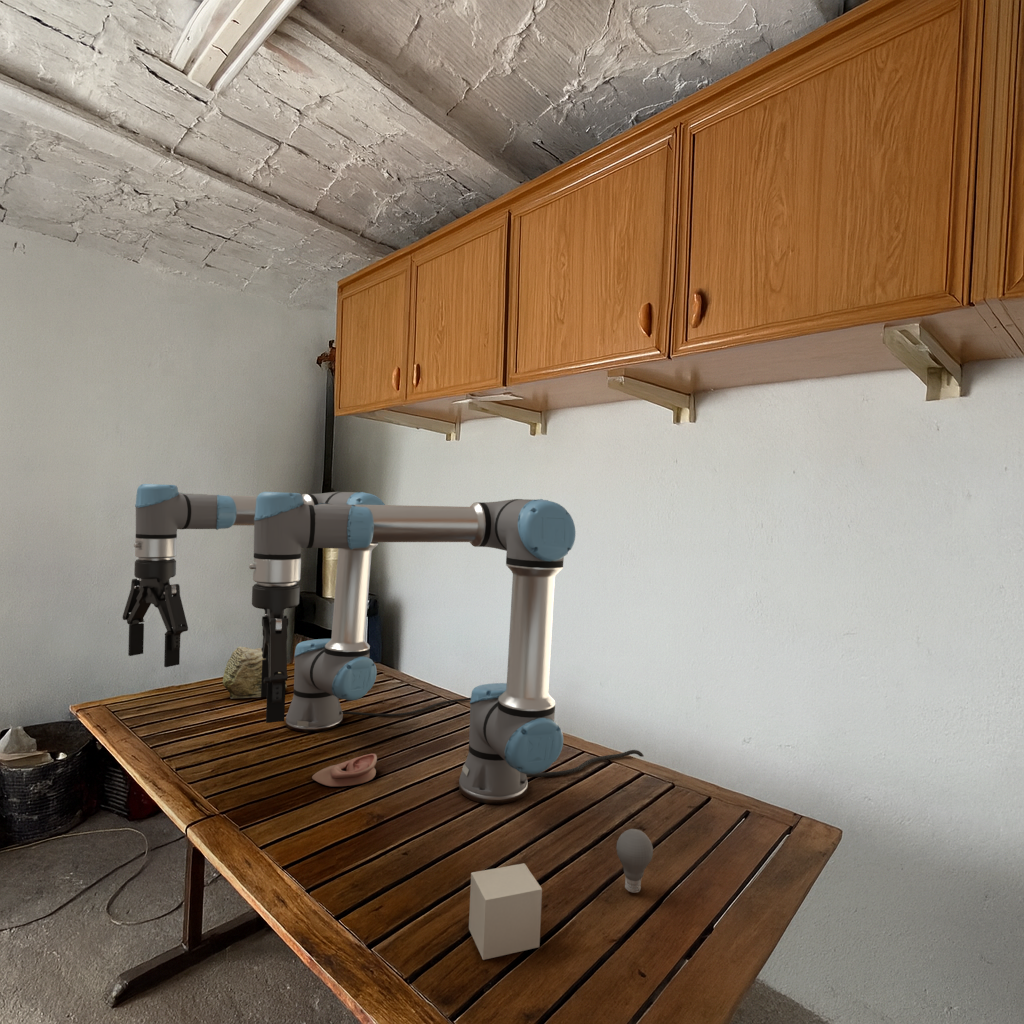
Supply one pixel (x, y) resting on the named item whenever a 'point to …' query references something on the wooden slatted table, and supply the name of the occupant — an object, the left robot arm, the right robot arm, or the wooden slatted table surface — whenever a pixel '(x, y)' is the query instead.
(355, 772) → the anatomical model
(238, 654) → the fossil
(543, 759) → the right robot arm
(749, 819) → the wooden slatted table surface
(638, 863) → the light bulb
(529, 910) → the beige block
